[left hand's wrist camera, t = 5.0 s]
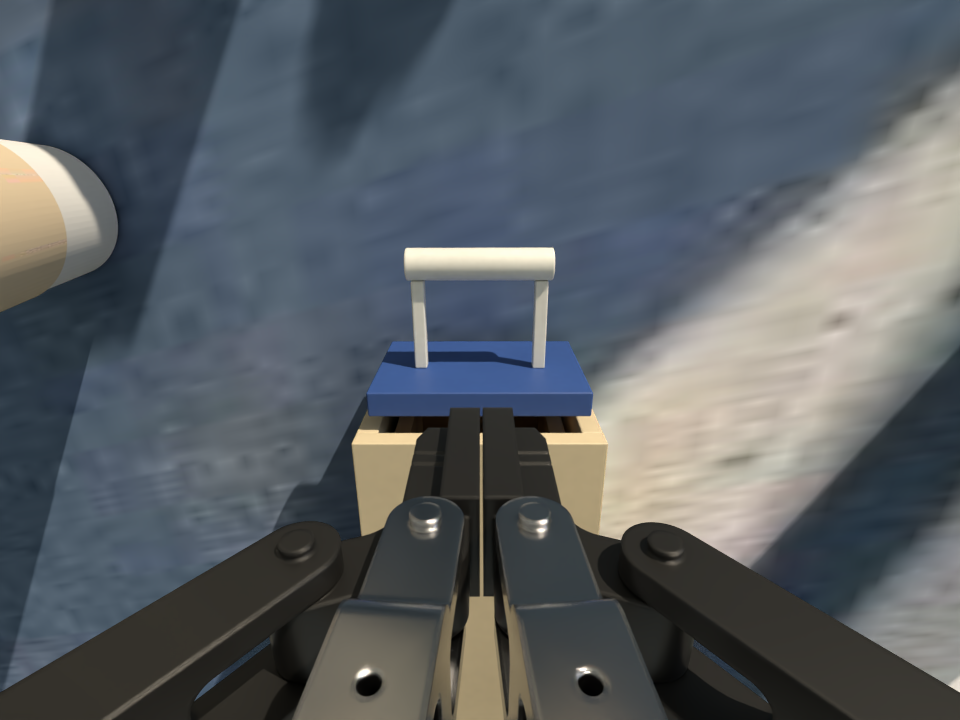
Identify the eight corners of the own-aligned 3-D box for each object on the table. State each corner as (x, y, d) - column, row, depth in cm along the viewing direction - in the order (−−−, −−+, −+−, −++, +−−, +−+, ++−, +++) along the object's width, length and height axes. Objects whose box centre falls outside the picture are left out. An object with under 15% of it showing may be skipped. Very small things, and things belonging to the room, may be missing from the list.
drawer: (384, 236, 27) (353, 260, 20) (575, 236, 27) (605, 260, 20) (408, 577, 35) (391, 671, 29) (553, 577, 35) (569, 671, 29)
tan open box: (386, 366, 31) (350, 443, 22) (573, 366, 31) (608, 443, 22) (404, 601, 37) (381, 728, 29) (557, 601, 37) (579, 728, 29)
